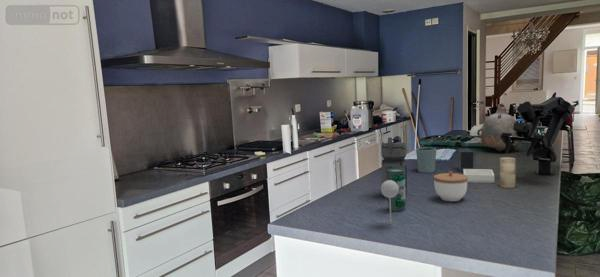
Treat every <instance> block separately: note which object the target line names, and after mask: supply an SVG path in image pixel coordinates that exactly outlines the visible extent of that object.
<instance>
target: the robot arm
mask: <svg viewBox="0 0 600 277" xmlns="http://www.w3.org/2000/svg"><path fill="white" fill-rule="evenodd" d="M574 110H575V109H574V107H573V105H572V103H570V102H569V101H567V100H565V99H564V98H563V97H562V96H552V97H550V98H549V99H547V100H545V101H543V102H540V103H532V104H531V102H530V101H524V103H521V104H519V105H518V106H517V107H516V111H517V113H518V114H519V116H520V118H521V120H522V121H523V122H517V123H514V126H513V130H515V131H516V132H515V133H516V135H518V136H512V134H511V133H502V134H501V136H500V137H501V139H502V141H503V142H504V144H505V149H504V154H505V155H508V153H510V150H511V149H512V148H513V147H514V146H513V145H512V144H513V143H514V141H519V142H523V143H530V146H528V147H529V148H528V149H527V151H526V154H525V156H526V157H529V156H531V155H532V161H537V170H535V172H536V174H537V175H548V176H550V175H554V172H553V171H552V168H553V166H552V165H553V164H552V163H556V162H557V160H558V155H557V154H556V152H555V147H554V143H555V141H556V139H557V137H558V135H559V132H560V130H561V128H562V126H563V125H564V124H563V123H564V122H566V121H568V120H569V119H570V118H571V116H572V115H573V113H574ZM549 111H550V112H551V116H552V118H551V120H550V123H549V125H548V126H547V129H546V131H545V133H544V134H537V132H536V130H537V129H538V126H541V125H542V122H541V120H540V118H545V117H546V116H548V114H549Z"/></svg>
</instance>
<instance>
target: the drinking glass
mask: <svg viewBox="0 0 600 277" xmlns="http://www.w3.org/2000/svg"><path fill="white" fill-rule="evenodd" d="M415 150H416V151H415V152H416V163H417V172H419V173H423V174H430V173H435V172H436V160H437V157H436V156H437V148H436V147H432V146H431V147H430V146H429V147H428V146H425V147H424V146H423V147H417V148H415Z"/></svg>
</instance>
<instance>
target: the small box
mask: <svg viewBox="0 0 600 277" xmlns="http://www.w3.org/2000/svg"><path fill="white" fill-rule="evenodd" d="M457 169H458V170H459V171H460V172H462V173H463V169H474V151H473V150H471V149H470V148H457Z"/></svg>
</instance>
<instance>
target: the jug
mask: <svg viewBox="0 0 600 277" xmlns="http://www.w3.org/2000/svg"><path fill="white" fill-rule="evenodd" d="M496 107H497V108H496V112H495V113H492V114H490V115H488V117H486V119H485V120H484V122H483V124H482V127H480V128H478V130H477V133H476V134H477V136H478V137H480V138H481V139H480V141H481V143H482V145H483V146H486V147H489V148H492V149H493V150H494V149H495V150H496V151H498V152H502V151H505V144H504V142H503V141H502V139H501V137H500V136H501V134H502V133H511V134H512V136H518V135H516V133H515V132H516V131H515V130H513V126H514V123H518V122H517V121H516V119H515V118H514V117H513V116H512V115H511V114H509V113H508V112H507V106H506V105H505V104H504V103H503V102H502V103H499V104H497V106H496ZM519 142H520V141H514V143H513V144H512V145H513V146H512V147H514V146H517V145H518V144H519Z"/></svg>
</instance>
